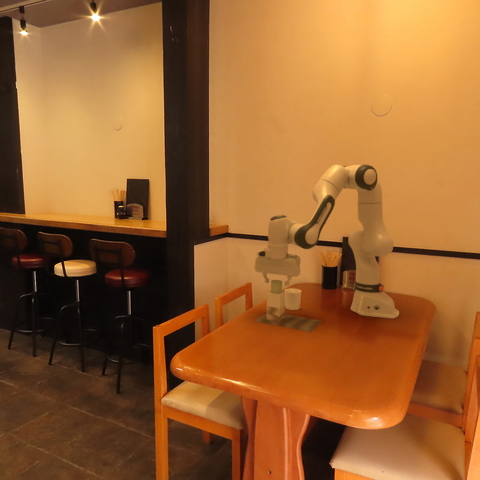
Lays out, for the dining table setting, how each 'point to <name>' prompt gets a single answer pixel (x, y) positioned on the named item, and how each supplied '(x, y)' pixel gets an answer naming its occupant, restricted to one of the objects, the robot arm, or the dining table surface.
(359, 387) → the dining table surface
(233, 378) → the dining table surface
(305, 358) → the dining table surface
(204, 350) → the dining table surface
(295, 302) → the white cup
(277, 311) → the tower base block
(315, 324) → the walnut board
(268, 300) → the tower top block
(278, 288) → the green cylinder
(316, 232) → the robot arm
